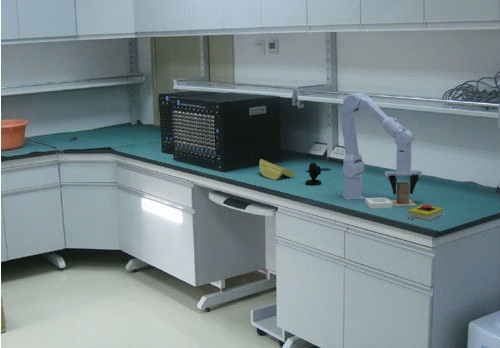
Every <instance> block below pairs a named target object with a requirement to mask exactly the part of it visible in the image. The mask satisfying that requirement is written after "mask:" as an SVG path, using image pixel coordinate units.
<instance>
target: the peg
mask: <svg viewBox="0 0 500 348" xmlns="http://www.w3.org/2000/svg"><path fill="white" fill-rule="evenodd" d="M396 200H397V202H398V203H399V204H409V200H410V182H408V181H401V182H399V181H398V182H396Z"/></svg>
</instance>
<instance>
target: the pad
mask: <svg viewBox="0 0 500 348" xmlns="http://www.w3.org/2000/svg"><path fill="white" fill-rule="evenodd" d="M389 200H390V201H391V202H392V203H393V207H402V206H404V207H405V206H406V207H408V206H417V204H416V202H414V200H412V199H409V204H399V203H398V202H397V199H389Z"/></svg>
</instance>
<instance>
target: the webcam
mask: <svg viewBox="0 0 500 348" xmlns="http://www.w3.org/2000/svg"><path fill="white" fill-rule="evenodd" d="M305 173H308V174H309V178H310V179H307V180H305V184H306V185H308V186H319V185H322V184H323V183H322V181H321V180H320V179H317V178H318V176H319V175H321V174H322V168H321V166H320V165H318V164H317V163H315V162H310V163H309V166H308V170H305Z"/></svg>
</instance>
